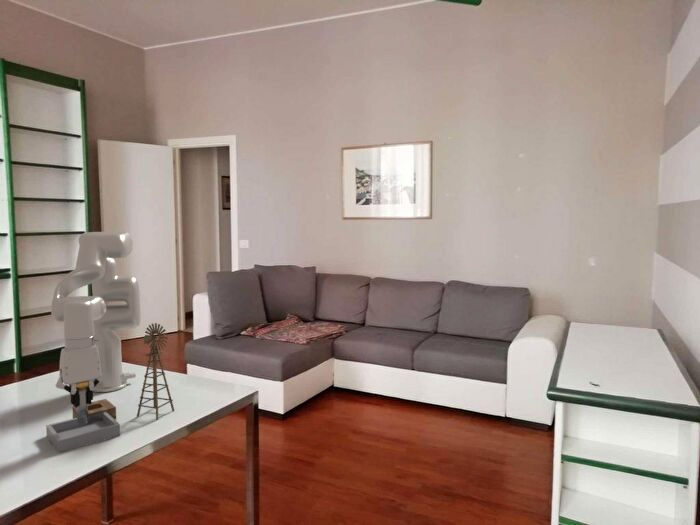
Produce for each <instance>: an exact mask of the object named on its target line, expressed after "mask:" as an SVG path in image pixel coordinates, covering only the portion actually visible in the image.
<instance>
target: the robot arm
mask: <svg viewBox="0 0 700 525" xmlns="http://www.w3.org/2000/svg"><path fill="white" fill-rule="evenodd" d="M133 246H134V243H133V238H132V236H131V234H130V233H129V232H127V231H88V232H84V233H82V234H80V235H79V236H78V252H77V257H76V258H77V259H76V263H75V268H74V269H73V270H71V271H70V272H69V273H68V274H66V275H65V276H64V277H63V278H62V279H61V280H60V281H59V282H58V283H57V284H56V286H55V289H54V291H53V295H52V300H51V307H50V308H51V309H50V312H51V316H52V318H53V320H55V322H56V321H57V322H60V323H63V330H64V331H63V332H64V333H63V334H64V339H63V340H64V348H62V349H61V351H60V356H59V371H58V372H59V377H58V379H57V381H56V384H55V387H56V389H60V390H65V391H66V392H68V393H69V394H70V404H71V405H72V406H74V407H75V408H76V407H78V394H77V392H76V383H80V382H85V381H89V386H88V387H87V400H88V404H91V402H92V401H93V400H94V393H109V392H113V391H118V390H121V389H123V388H125V387H126V386H127V385H128V381H127V380H129V379H130V380H131V379H134V378H135V379H136V377H137V376H136V372H131V373H130V372H126V373H124V372H123V364H122V363H123V362H122V361H123V360H122V359H123V358H122V357H123V356H122V340H121V338H120V336H119V335H118V334H117V332H115V331H116V330H132V329H136V328H138V327H139V326H140V324H141V300H140V298H141V297H140V294H141V293H140V285H139V281H138V279H137V278H136V277H134V276H131V275H118V270H117V269H118V268H117V262H116V260H115V259H123V258H126V257H128V256H129V255H130V254H131V253H132V250H133ZM88 285H91V291H92V295H89V296H88V295H87V296H85V295H83V296H80V295H79V296H70V294H71V293H73V292H74V291H76V290H78V289H80V288H81V289H82V288H84V287H86V286H88ZM109 302H111V303H112V302H125V303H123V304H117V303H116V304H106V303H109Z"/></svg>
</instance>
